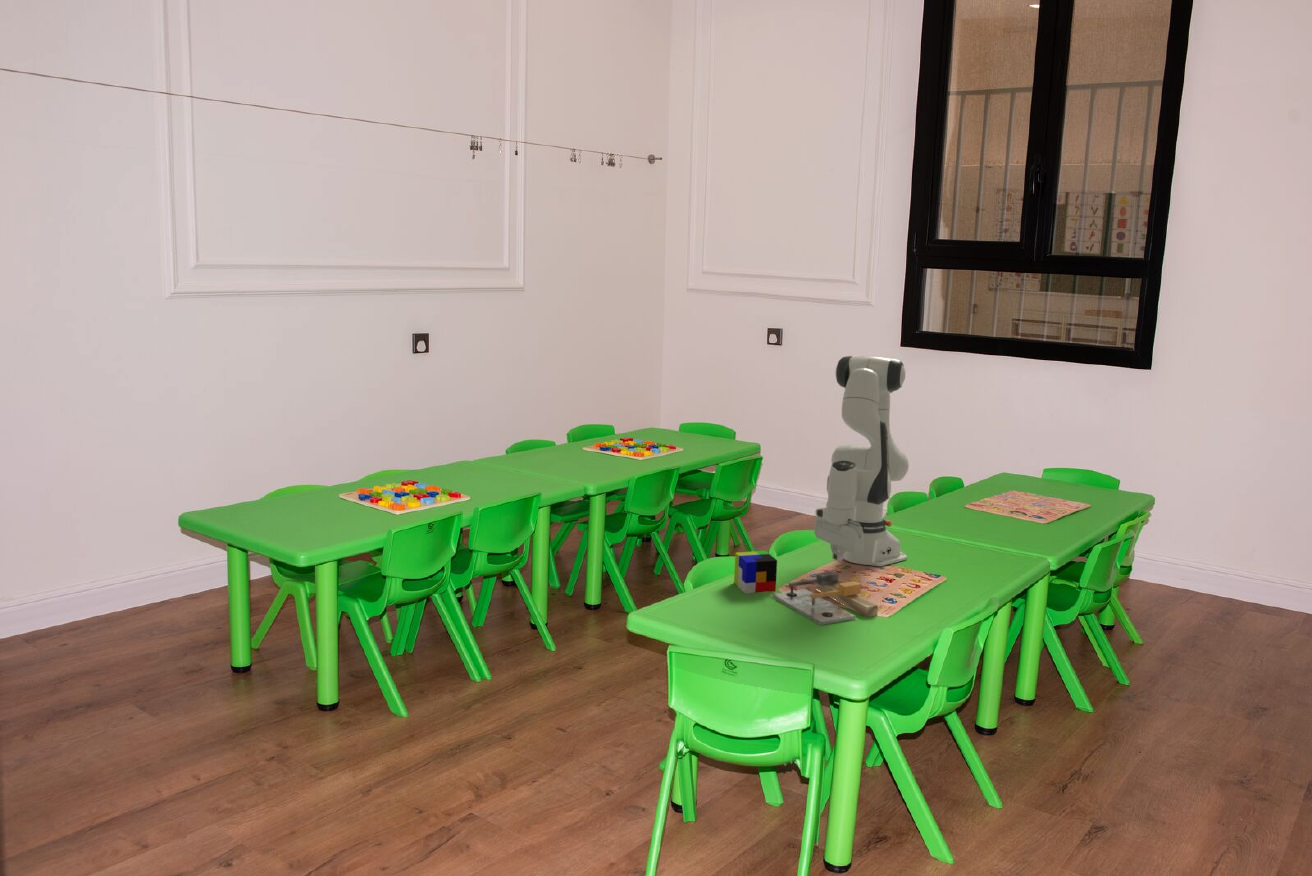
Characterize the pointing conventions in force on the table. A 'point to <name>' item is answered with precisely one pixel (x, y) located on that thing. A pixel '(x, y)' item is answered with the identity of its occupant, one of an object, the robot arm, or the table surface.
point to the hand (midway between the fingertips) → (837, 559)
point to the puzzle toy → (755, 572)
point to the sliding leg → (840, 591)
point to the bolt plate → (813, 607)
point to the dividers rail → (829, 583)
